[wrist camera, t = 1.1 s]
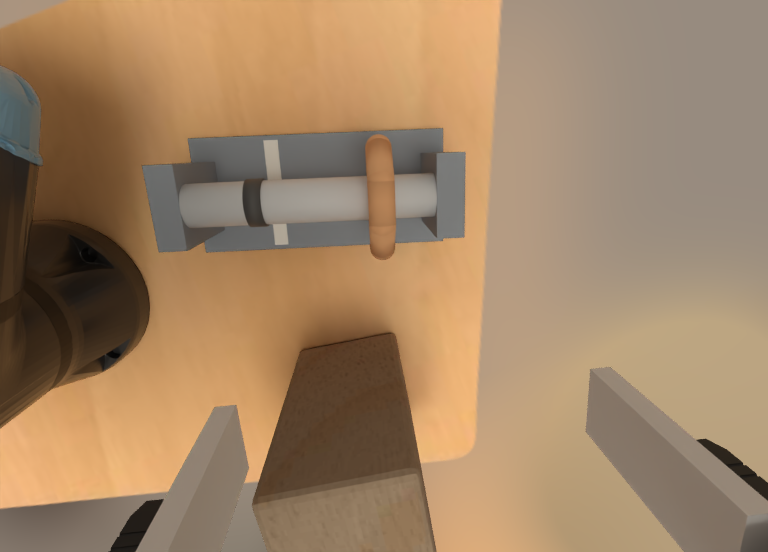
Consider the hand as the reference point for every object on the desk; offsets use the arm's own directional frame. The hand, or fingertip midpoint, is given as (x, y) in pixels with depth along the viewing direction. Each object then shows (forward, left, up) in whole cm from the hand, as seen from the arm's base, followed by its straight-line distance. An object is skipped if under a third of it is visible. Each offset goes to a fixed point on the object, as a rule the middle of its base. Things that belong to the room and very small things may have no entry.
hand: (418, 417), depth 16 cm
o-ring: (0, +6, -23) cm, 24 cm away
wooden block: (-3, -14, -27) cm, 30 cm away
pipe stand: (-5, +6, -26) cm, 28 cm away
